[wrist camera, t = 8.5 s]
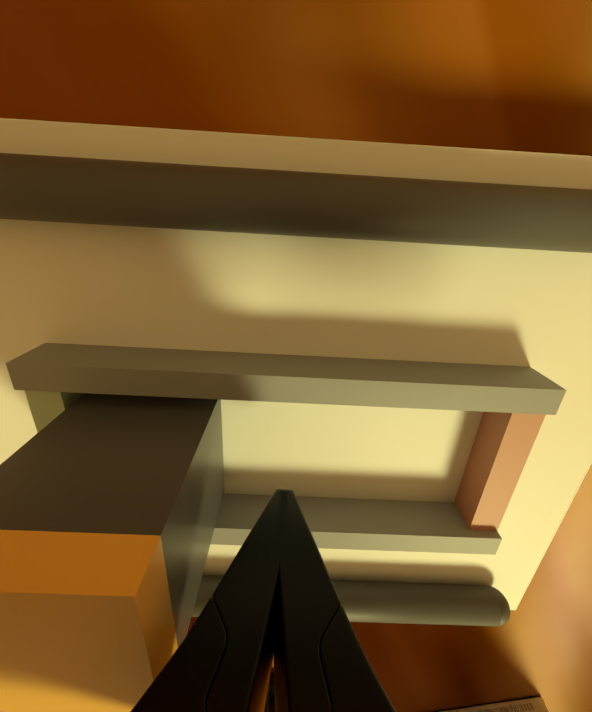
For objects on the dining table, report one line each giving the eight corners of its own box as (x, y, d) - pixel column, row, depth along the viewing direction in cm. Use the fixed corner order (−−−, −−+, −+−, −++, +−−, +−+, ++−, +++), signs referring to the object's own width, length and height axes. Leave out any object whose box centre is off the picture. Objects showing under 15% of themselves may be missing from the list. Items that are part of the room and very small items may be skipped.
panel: (492, 567, 17) (537, 649, 14) (62, 552, 17) (6, 633, 13) (663, 174, 10) (837, 156, 7) (-78, 127, 10) (-269, 83, 6)
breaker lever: (224, 489, 12) (163, 725, 6) (112, 484, 12) (-47, 720, 6) (220, 393, 10) (135, 596, 5) (91, 387, 10) (-145, 587, 5)
